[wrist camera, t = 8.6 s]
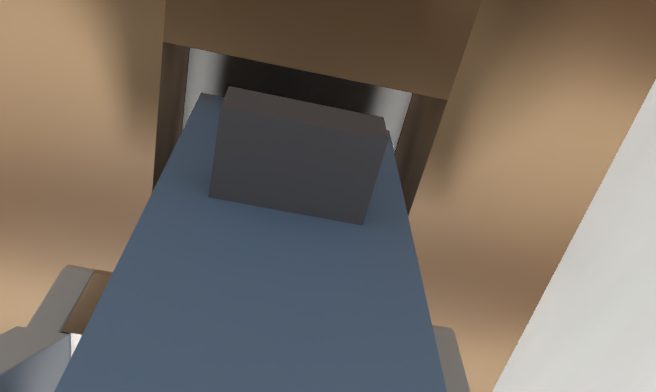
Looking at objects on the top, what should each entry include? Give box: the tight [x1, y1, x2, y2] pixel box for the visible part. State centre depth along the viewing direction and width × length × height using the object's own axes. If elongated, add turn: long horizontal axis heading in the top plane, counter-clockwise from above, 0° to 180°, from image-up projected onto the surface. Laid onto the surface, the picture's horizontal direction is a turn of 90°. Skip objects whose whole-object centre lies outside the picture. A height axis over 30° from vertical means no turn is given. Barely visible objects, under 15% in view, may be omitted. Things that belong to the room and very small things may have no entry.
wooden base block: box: [0, 0, 656, 392], centre depth 14 cm, size 16×13×3 cm
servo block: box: [54, 86, 447, 392], centre depth 11 cm, size 9×4×8 cm, turn 168°
